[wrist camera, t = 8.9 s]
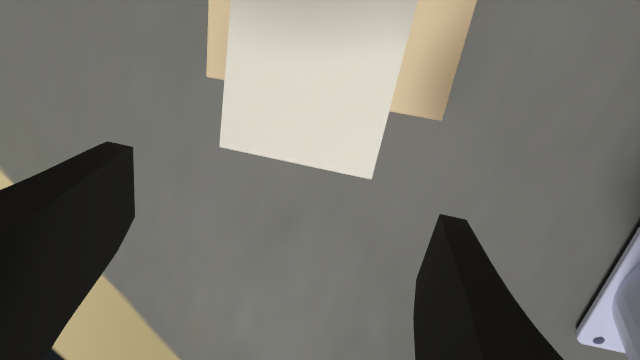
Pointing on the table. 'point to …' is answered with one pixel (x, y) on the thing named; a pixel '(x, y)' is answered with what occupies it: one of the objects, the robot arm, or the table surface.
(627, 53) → the table surface
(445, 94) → the oak block
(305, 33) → the carton block
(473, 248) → the robot arm
